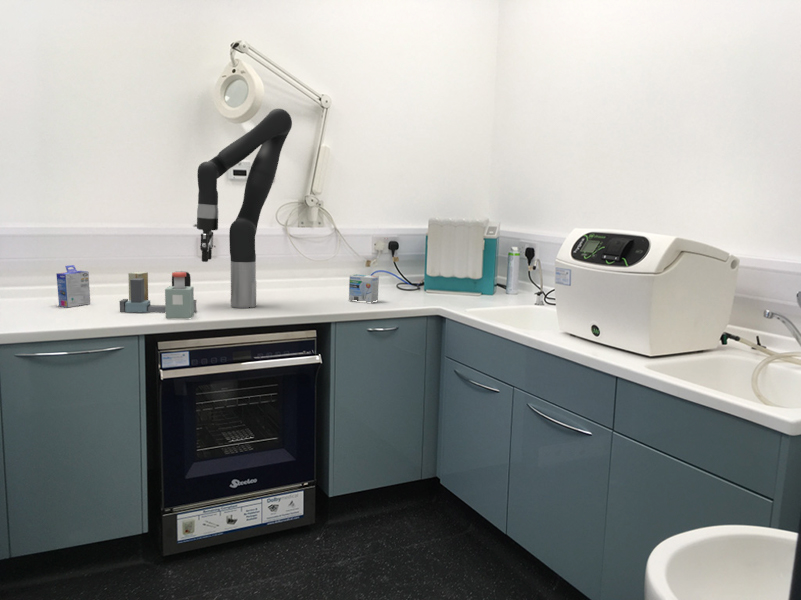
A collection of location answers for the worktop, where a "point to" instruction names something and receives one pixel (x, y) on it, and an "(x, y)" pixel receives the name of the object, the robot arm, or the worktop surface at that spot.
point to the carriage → (137, 297)
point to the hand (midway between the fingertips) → (206, 260)
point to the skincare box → (139, 275)
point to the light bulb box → (363, 288)
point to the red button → (179, 280)
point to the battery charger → (187, 280)
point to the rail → (149, 307)
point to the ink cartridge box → (73, 287)
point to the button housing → (179, 302)
